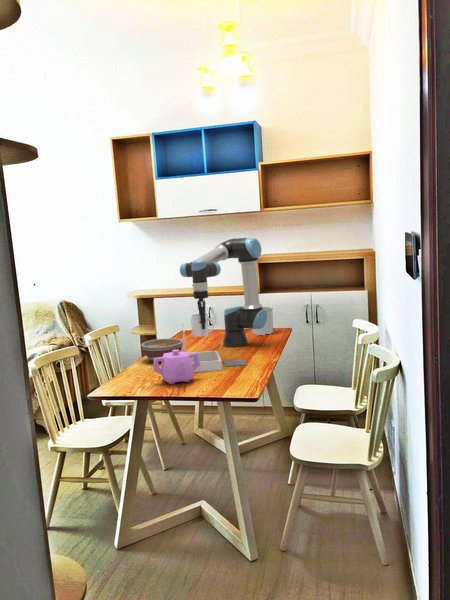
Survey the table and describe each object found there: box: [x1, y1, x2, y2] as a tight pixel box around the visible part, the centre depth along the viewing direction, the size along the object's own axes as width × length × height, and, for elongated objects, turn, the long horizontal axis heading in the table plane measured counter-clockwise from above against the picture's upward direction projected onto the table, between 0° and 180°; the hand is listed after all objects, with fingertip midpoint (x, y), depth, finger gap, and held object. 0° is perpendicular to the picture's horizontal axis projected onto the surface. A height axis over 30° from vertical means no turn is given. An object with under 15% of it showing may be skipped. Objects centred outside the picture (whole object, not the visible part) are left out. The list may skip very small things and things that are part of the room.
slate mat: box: [222, 359, 247, 368], centre depth 297 cm, size 11×11×1 cm
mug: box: [190, 313, 215, 338], centre depth 294 cm, size 9×12×11 cm
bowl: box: [140, 337, 184, 363], centre depth 316 cm, size 23×23×10 cm
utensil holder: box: [251, 305, 274, 336], centre depth 376 cm, size 15×15×18 cm
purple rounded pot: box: [152, 350, 201, 385], centre depth 269 cm, size 19×18×15 cm
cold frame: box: [181, 323, 223, 373], centre depth 295 cm, size 18×24×21 cm
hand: (203, 333), depth 295 cm, fingers closed on mug, 9 cm apart
